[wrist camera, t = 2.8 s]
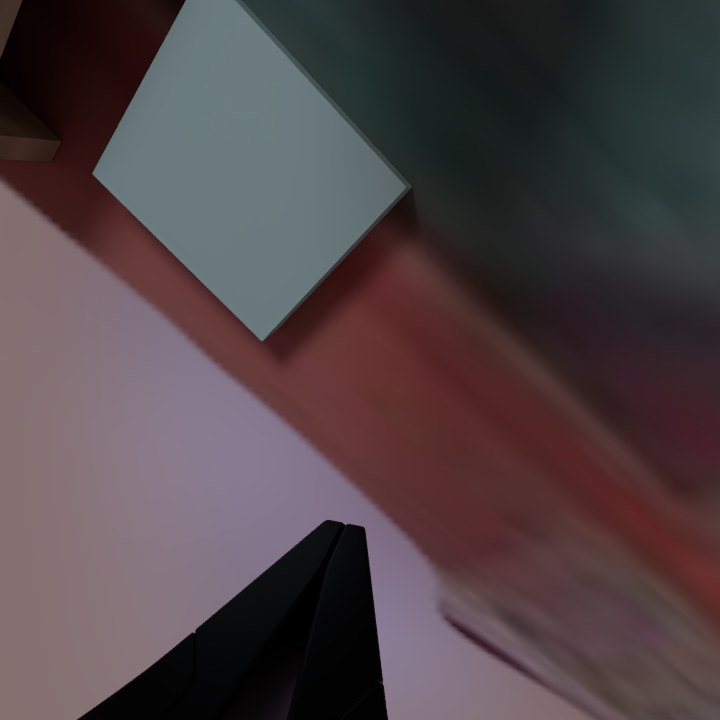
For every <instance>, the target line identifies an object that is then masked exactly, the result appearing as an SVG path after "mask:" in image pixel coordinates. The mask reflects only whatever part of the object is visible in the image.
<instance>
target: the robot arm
mask: <svg viewBox="0 0 720 720" xmlns="http://www.w3.org/2000/svg"><path fill="white" fill-rule="evenodd" d="M77 720H388V716H387V709H386V700H385V692H384V686H383V677H382V668H381V660H380V651H379V643H378V634H377V625H376V617H375V608H374V600H373V591H372V583H371V574H370V566H369V557H368V549H367V541H366V532H365V528H364V527H362V526H357V525H352V524H347V525H345V524H343V523H342V522H337V521H332V520H326V521H324V522H323V523H322V524H320V525H319V526H318V527H317V528H316V529H314V530H313V531H312V532H311V533H310V534H309V535H307V536H306V537H305V538H304V539H303V540H301V541H300V542H299V543H298V544H297V545H296V546H295V547H293V548H292V549H291V550H290V551H288V552H287V553H286V554H285V555H284V556H282V557H281V558H280V559H279V560H278V561H276V562H275V563H274V564H273V565H272V566H271V567H270V568H268V569H267V570H266V571H265V572H263V573H262V574H261V575H260V576H259V577H257V579H255V580H254V581H253V582H252V583H250V584H249V585H248V586H247V587H246V588H244V589H243V590H242V591H241V592H240V593H238V594H237V595H236V596H235V597H234V598H233V599H232V600H230V601H229V602H228V603H227V604H226V605H224V606H223V607H222V608H221V609H219V610H218V611H217V612H216V613H215V614H214V615H212V616H211V617H210V618H209V619H208V620H207V621H205V622H204V623H203V624H202V625H201V626H199V627H198V628H197V629H196V631H195V633H191V634H190V635H188V636H187V637H186V638H185V639H184V640H182V641H181V642H180V643H179V644H178V645H176V646H175V647H174V648H173V649H172V650H170V651H169V652H168V653H167V654H165V655H164V656H163V657H162V658H160V659H159V660H158V661H157V662H156V663H154V664H153V665H152V666H150V667H149V668H148V669H147V670H146V671H144V672H143V673H141V674H140V675H139V676H137V677H136V678H135V679H133V680H132V681H130V682H129V683H128V684H126V685H125V686H124V687H122V688H121V689H120V690H118V691H117V692H115V693H114V694H113V695H111V696H110V697H108V698H107V699H106V700H104V701H103V702H101V703H100V704H99V705H97V706H96V707H94V708H93V709H92V710H90V711H89V712H87V713H86V714H84V715H83V716H82V717H80V718H79V719H77Z"/></svg>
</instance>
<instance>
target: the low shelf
mask: <svg viewBox="0 0 720 720" xmlns="http://www.w3.org/2000/svg"><path fill="white" fill-rule="evenodd" d="M21 2H22V0H0V58H1V55H2V53H3V50H4V47H5V45H6V42H7V39H8V37H9V34H10V31H11V29H12V26H13V24H14V21H15V18H16V16H17V13H18V10H19V8H20V5H21ZM60 143H61V141H60V140H59V139H58V138H57V137H56V136H55V135H54V134H53V133H52V132H51V131H50V130H49V129H48V128H47V127H46V126H45V125H44V124H43V123H42V122H41V121H40V120H39V119H38V118H37V117H36V116H35V115H34V114H33V113H32V112H31V111H30V110H29V109H28V108H27V107H26V106H25V105H24V104H23V103H22V102H21V101H20V100H19V99H18V98H17V97H16V96H15V95H14V94H13V93H12V92H11V91H10V90H9V89H8V88H7V87H6V86H5V85H4V84H3V83H2V82H1V81H0V160H20V161H41V162H52V160H53V157H54V155H55V153H56V151H57V149H58V147H59V145H60Z"/></svg>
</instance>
